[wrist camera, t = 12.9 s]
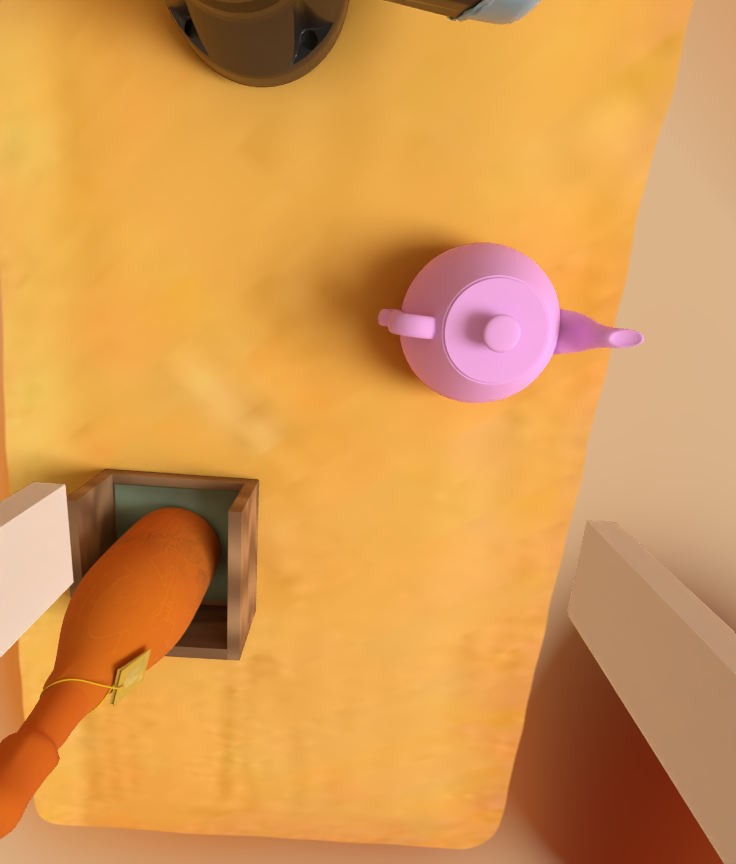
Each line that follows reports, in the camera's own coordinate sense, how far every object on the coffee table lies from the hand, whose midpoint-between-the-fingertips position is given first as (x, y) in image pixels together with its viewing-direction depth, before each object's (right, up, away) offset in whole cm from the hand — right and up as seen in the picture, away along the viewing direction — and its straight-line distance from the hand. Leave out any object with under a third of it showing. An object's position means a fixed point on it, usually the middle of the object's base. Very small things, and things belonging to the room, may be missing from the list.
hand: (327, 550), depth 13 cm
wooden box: (-19, -9, +44) cm, 48 cm away
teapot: (+12, +14, +38) cm, 42 cm away
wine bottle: (-19, -9, +42) cm, 47 cm away
